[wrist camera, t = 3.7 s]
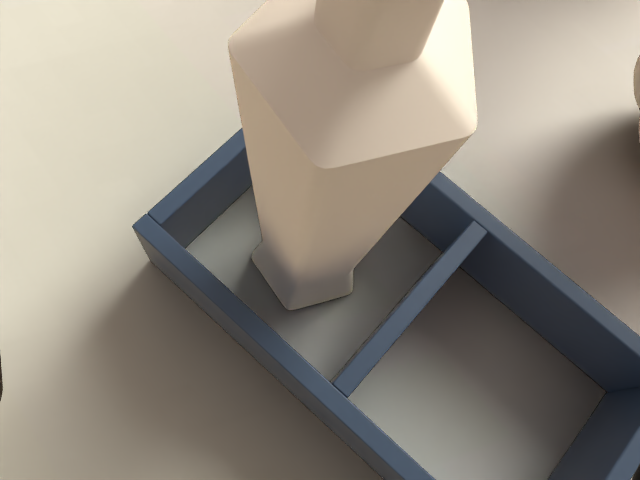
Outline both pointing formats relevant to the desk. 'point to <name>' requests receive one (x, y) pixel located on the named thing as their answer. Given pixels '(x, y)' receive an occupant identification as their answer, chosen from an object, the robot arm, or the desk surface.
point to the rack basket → (458, 250)
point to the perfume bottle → (346, 126)
